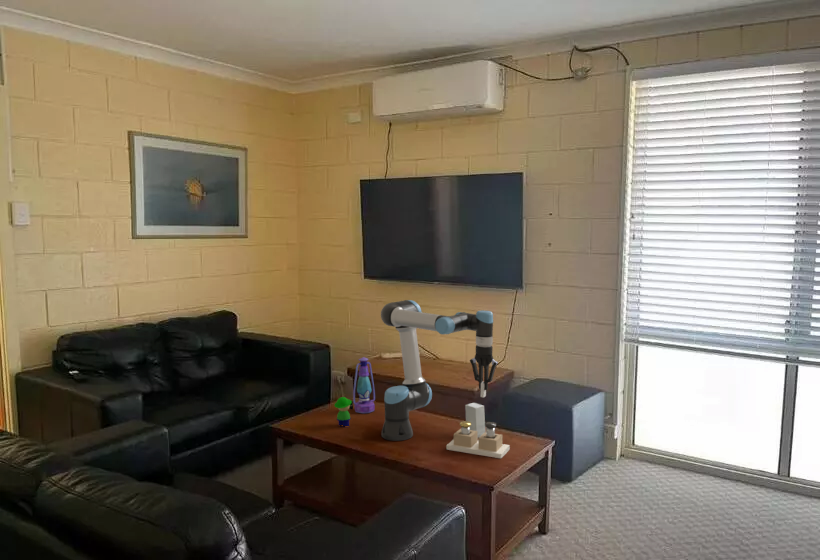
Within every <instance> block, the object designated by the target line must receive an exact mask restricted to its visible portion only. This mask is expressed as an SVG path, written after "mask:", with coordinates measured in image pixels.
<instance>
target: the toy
mask: <svg viewBox="0 0 820 560" xmlns="http://www.w3.org/2000/svg"><path fill="white" fill-rule="evenodd" d="M333 405H334V407H335V408H336V409H338V412H337V416H336V420H337V422H338V426H339V425H343V426H349V427H350V420H351V414H350V412H349V411H348V410H354V403H353V400H351V399H349V398H347V397H345V396H342V397H341V396H340V397H339V398H338V399H337V401H336V402H335V403H334V404H333ZM343 426H342V427H343Z"/></svg>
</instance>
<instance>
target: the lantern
mask: <svg viewBox="0 0 820 560" xmlns="http://www.w3.org/2000/svg"><path fill="white" fill-rule="evenodd" d="M358 361H360V362H358V363H356V367H355V374H354V381H353V383H354V384H353V391H352V401H353V408H354V412H355V413H358V414H370V413H372V412H375V409H376V408H375V406H376V405H375V403H374V402H375V400H376V390H375V389H376V388H375V384H374V377H373V370H372V369H373V368H372V364H371V363H372V362H370V361H369V358H367V357H365V356H363V357H361V358H358ZM358 370H359V371H358ZM358 376H359V377H358ZM369 376H370V377H369ZM357 378H358V380H357ZM370 379H371V381H370ZM371 384H372V385H371ZM356 393H357V394H358V401H356ZM371 393H372V399H370V395H371Z"/></svg>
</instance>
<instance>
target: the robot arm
mask: <svg viewBox="0 0 820 560" xmlns="http://www.w3.org/2000/svg"><path fill="white" fill-rule="evenodd" d="M380 319H381V321H382V323H383V324H385V325H386V326H388V327H395V330H396V331H398V333H399V341H400V349H401V357H402V366H403V374H404V380H403V381H402V385H397V386H396V385H394V386H391V387H388V388H387V389H386V390H385V391H384V397H383V399H384V423H383V426H382V429H381V438H383V439H384V440H387V441H392V442H393V441H394V442H395V441H396V442H400V441H401V442H402V441H405V440H409V439H411V438H413V436H414V431H413V428H412V425H411V422H410V414H409V413H410V412H411V411H414V410H417V409H422V408H424V407H426V406H428V405H429V404H430V402H431V401H432V397H433V392H432V388H431V386H430V385H429V384H428V383H427V382H426V379H425V378H424V377H423V375H422V365H421V359H420V350H419V343H418V335H417V329H418V330H419V329H420V330H427V331H431V332H432V331H433V332H437V333H439V334H440V335H449V334H453V333H457V332H458V333H459V332H464V331H472V332H473V331H474V332H475V355H474V357H473V358H471V359H470V360H469V362H470V365H471V368H472V372H473V376H474V381H476V382H478V389H479V390H480V398H485V397H486V396H487V390H488V389H489V383H491V382H492V381H493V378H494V374H495V372H496V367H497V365H498V364H499V361H496V360H495V359H494V357H493V344H494V342H493V341H494V340H493V339H494V337H493V336H494V335H493V333H494V331H493V330H494V329H493V328H494V314H493V312H492V311H490V310H477V311H476V313H469V312H465V311H463V312H459V311H458V312H456V313H455V314H454V315H443V314H435V313H429V312H422V309H421V306H420V305H419V304H418V303H417V302H416V301H415V300H414V299H413V300H411V299H405V300H400V301H393V302H389V303H386V304H385V305H384V306H383V307H382V308H381V310H380ZM490 365H491V367H490ZM489 368H490V371H489Z"/></svg>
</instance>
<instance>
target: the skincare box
mask: <svg viewBox="0 0 820 560" xmlns="http://www.w3.org/2000/svg"><path fill="white" fill-rule="evenodd" d="M464 406H465V410H464V411H465V421H469V422H471V426H470V430H473V431H477V439H478V438H479V437H480V436H481V435H482V434H483V433H485V432H486V427H485V423H486V420H485V415H486V414H485V405H482V404H481V403H477V402H472V403H467V404H465V405H464Z"/></svg>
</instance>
